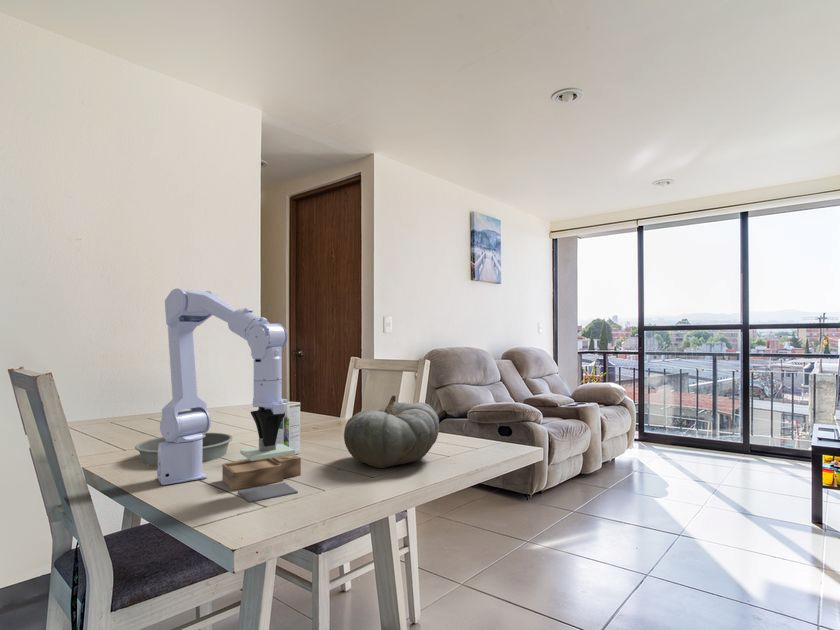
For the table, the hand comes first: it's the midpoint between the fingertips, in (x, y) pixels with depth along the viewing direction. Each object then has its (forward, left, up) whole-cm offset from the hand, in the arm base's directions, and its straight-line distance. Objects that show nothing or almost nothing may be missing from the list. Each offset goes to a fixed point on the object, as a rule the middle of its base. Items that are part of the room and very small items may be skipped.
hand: (267, 444), depth 104 cm
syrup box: (+15, +31, -10) cm, 36 cm away
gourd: (+34, +6, -10) cm, 36 cm away
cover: (0, 0, -2) cm, 2 cm away
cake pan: (-8, +47, -10) cm, 49 cm away
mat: (0, 0, -10) cm, 10 cm away
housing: (+3, +11, -10) cm, 15 cm away
